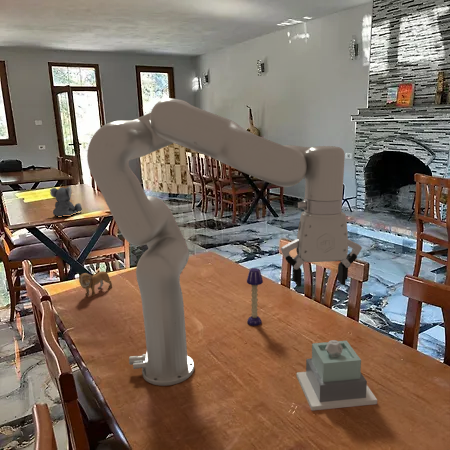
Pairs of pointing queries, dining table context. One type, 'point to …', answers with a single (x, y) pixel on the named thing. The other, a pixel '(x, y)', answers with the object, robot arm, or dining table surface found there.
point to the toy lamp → (254, 294)
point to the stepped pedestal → (334, 379)
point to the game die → (334, 348)
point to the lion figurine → (93, 281)
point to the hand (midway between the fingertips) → (319, 283)
